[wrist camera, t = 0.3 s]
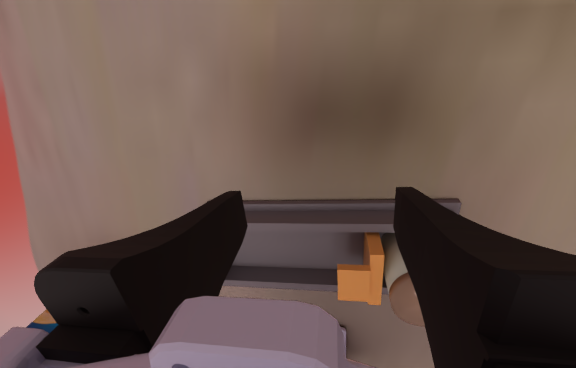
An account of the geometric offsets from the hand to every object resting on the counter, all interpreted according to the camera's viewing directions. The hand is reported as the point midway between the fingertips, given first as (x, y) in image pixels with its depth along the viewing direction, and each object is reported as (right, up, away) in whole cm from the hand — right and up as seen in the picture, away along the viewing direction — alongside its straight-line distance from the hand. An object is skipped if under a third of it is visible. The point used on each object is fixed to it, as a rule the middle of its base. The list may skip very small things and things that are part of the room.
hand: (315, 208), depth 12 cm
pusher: (+5, -5, +12) cm, 14 cm away
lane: (+2, -4, +13) cm, 14 cm away
